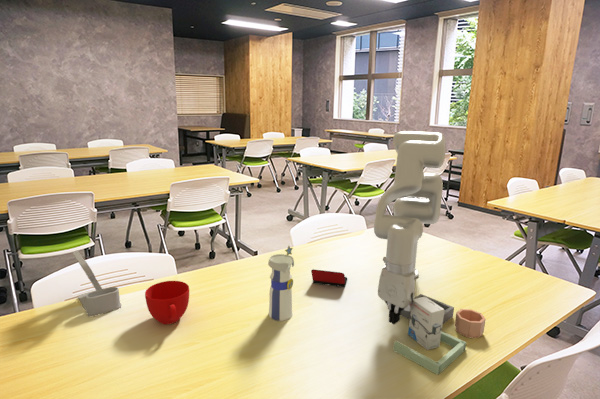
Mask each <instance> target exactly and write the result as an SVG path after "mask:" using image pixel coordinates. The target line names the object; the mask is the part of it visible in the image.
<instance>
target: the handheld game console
mask: <svg viewBox="0 0 600 399" xmlns="http://www.w3.org/2000/svg"><path fill="white" fill-rule="evenodd" d="M310 271H311V277H312V278H311V279H312V283H313V284H315V285H317V284H318V285H323V284H324V285H325V284H329V286H332V287H340V288H345V287H346V285H347V281H348V277H347V276H345V273H344V272H340V271H338V272H337V271H330V270H321V269H314V268H313V269H311V270H310ZM325 286H326V285H325Z"/></svg>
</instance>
